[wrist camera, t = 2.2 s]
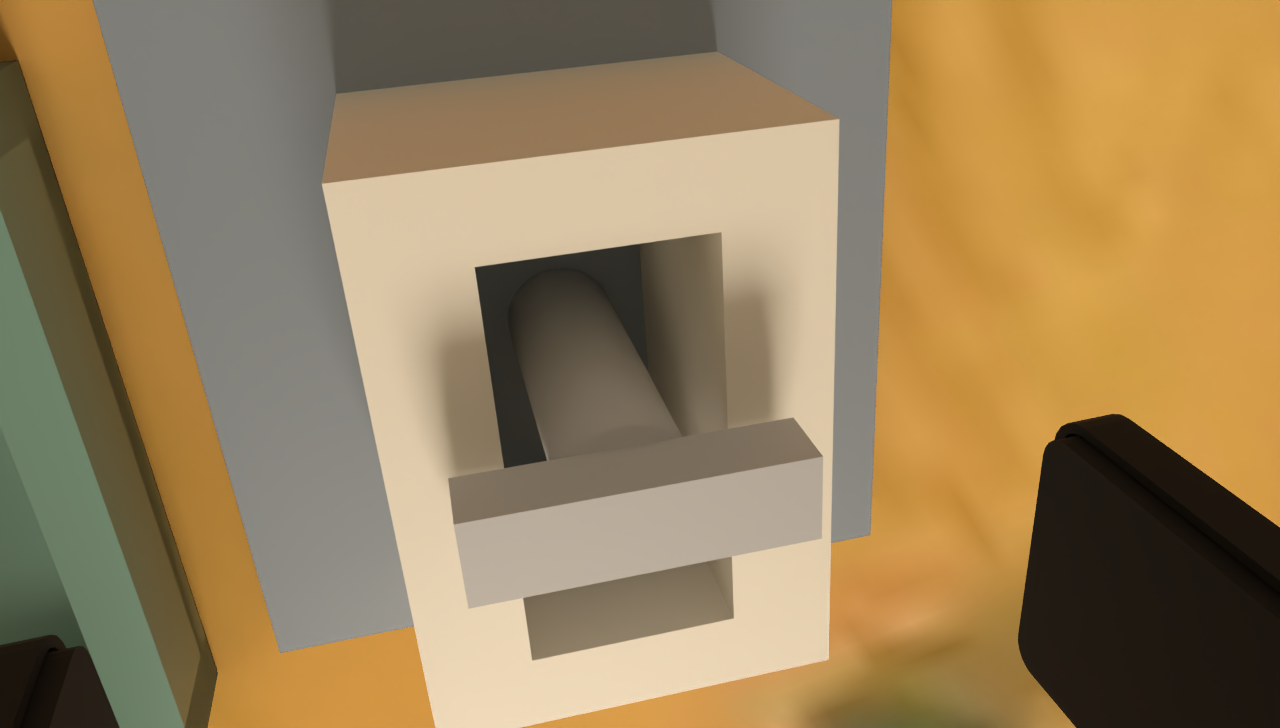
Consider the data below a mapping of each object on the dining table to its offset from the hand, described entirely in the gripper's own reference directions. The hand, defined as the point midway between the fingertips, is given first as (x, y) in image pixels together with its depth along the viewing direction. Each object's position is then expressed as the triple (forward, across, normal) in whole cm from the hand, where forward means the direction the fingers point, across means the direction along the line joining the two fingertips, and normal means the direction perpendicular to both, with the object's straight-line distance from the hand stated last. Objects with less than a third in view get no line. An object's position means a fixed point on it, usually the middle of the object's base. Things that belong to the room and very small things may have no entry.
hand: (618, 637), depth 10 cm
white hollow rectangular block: (+9, -1, 0) cm, 9 cm away
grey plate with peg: (+10, -1, 0) cm, 10 cm away
